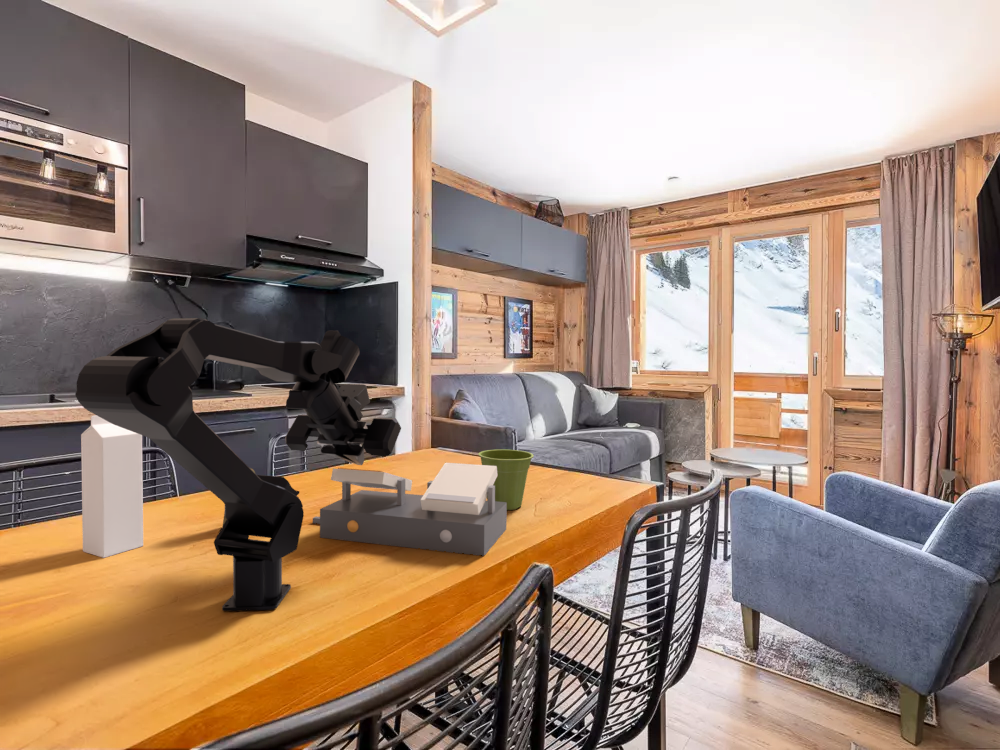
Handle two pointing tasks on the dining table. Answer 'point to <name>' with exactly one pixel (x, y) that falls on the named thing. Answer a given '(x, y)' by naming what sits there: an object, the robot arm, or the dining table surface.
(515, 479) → the plant pot
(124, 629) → the dining table surface
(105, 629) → the dining table surface
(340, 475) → the orange striped rocker plate
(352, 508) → the rocker switch box
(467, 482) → the white rocker
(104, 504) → the milk
